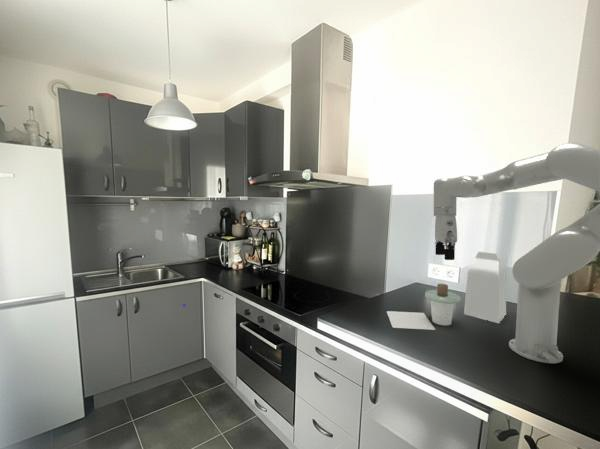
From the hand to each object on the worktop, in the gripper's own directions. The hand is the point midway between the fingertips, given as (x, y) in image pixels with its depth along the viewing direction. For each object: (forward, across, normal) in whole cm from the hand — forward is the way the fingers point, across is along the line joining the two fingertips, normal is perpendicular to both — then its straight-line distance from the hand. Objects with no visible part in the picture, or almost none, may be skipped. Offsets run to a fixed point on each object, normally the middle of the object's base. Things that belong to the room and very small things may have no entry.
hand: (444, 257), depth 102 cm
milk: (+26, +11, -19) cm, 34 cm away
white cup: (+26, +1, +1) cm, 26 cm away
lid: (+16, 0, 0) cm, 16 cm away
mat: (+26, +1, +13) cm, 29 cm away
